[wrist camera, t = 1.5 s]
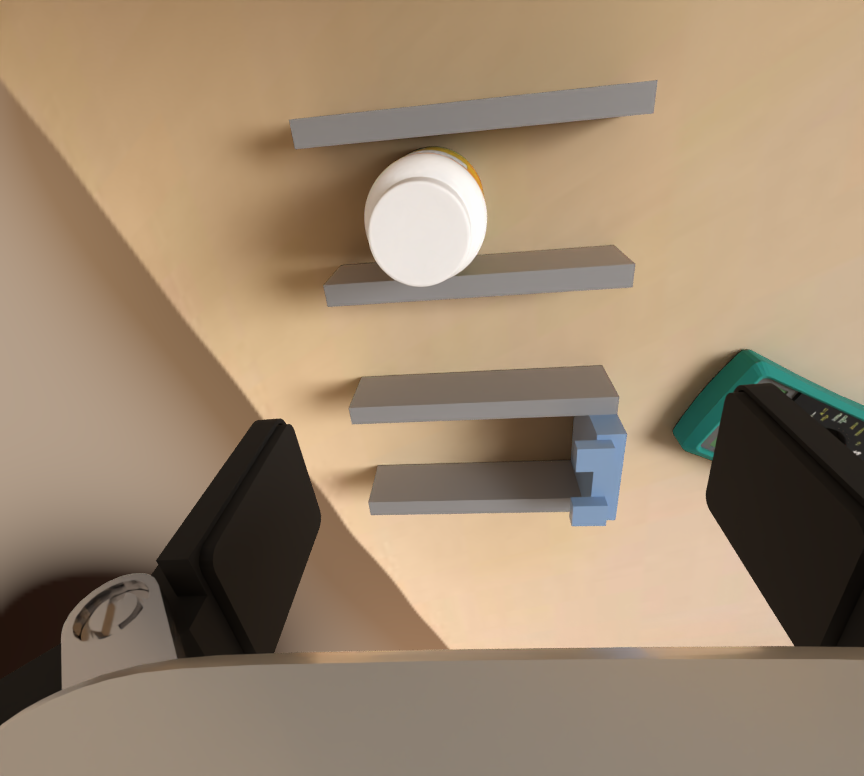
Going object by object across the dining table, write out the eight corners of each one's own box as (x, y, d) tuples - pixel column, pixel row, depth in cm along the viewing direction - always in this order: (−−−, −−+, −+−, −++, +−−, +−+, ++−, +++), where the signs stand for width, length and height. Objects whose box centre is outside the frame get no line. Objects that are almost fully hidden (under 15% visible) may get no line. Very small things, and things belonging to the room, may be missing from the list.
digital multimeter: (831, 499, 35) (860, 528, 33) (663, 428, 33) (680, 453, 31) (918, 425, 32) (957, 452, 29) (736, 341, 30) (762, 362, 27)
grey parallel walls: (314, 119, 25) (266, 119, 19) (629, 85, 23) (683, 74, 17) (380, 477, 37) (363, 546, 31) (592, 472, 35) (616, 543, 29)
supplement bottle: (467, 258, 28) (467, 319, 20) (378, 234, 28) (339, 285, 19) (496, 161, 25) (509, 182, 17) (398, 132, 25) (362, 140, 17)
